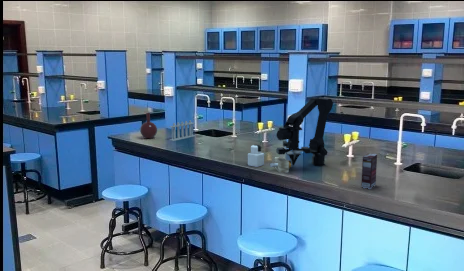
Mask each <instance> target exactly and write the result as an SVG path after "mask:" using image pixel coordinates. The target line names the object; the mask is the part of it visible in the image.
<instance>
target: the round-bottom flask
mask: <svg viewBox="0 0 464 271" xmlns="http://www.w3.org/2000/svg"><path fill="white" fill-rule="evenodd" d="M145 114H146V121H145V122H143V123H142V124H141V126H140V129H139V130H140V135H141V136H142V137H143V138H145V139H152V138H154V137H155V136H156V135H158V134H157V133H158V127H157V125H156V124H155V123H154V122H152V121H151V115H150V114H151V113H150V112H146V113H145Z"/></svg>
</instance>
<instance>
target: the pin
mask: <svg viewBox="0 0 464 271" xmlns="http://www.w3.org/2000/svg"><path fill="white" fill-rule="evenodd" d="M287 161H288V162H289V169H292V163H291V160H287ZM269 167H270V168H275V167H278V163H273V162H270V163H269Z"/></svg>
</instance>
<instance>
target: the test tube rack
mask: <svg viewBox="0 0 464 271" xmlns="http://www.w3.org/2000/svg"><path fill="white" fill-rule="evenodd" d="M194 124H195V122H192V120H188V121H187V120H185V122H184V121H181V123H180V122H176V123H175V122H173V123H172V125H169V126H168V128H171V138H170V139H168V141H171V142H175V141H181V140H183V139H184V140H185V139H189V138H194V137H196V135H195V134H193V132H194V131H193V130H194V127H193V125H194ZM184 126H185V127H184ZM176 128H177V133H176ZM180 128H181V129H180ZM184 129H185V130H184ZM188 130H189V131H188ZM180 131H181V132H180ZM180 133H181V136H180ZM176 134H177V137H176Z"/></svg>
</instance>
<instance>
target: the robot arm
mask: <svg viewBox="0 0 464 271" xmlns="http://www.w3.org/2000/svg"><path fill="white" fill-rule="evenodd" d="M333 106H334V102H333V100H332V99H331V98H325V97H320V98H319V97H311V98H310V100H309V101H307V103H306V104H305V105H303V106H302V108H300V109H299V110H298V111H297V112H295V113H292V114H290V115H289V116H288V117H287V119H286V122H285V124H284V125H283V127H279V128H278V130H277V131H276V138H277V140H279V141H282V147H277V148H276V150H275V152H276V154H278V155H285V154H286V155H287V156H288V157H289V160H290V161H291V166H295V164H296V163H297V160H298V158H299V157H300V156H302V154H301V153H302V152H303V153H305V154H312V156H311V164H312V165H313V166H316V167H317V166H319V167H320V166H326V163H325V162H326V161H325V158H326V156H327V155H328V150H327V149H326V148H325V141H324V134H325V131H326V130H325V129H326V124H327V120H328V116H329V113H331V111H332V109H333ZM316 107H317V110H318V117H317V118H318V119H317V123H316V127H315V132H314V136H313V137H312V138H310V140H309V143H308V146H301V147H300V146H299V145H300V131H303V128H302V127H301V125H302V124H303V122H304V119H305V117H307V116H308V115H309V113H311V112H312V111H314V109H315V108H316ZM284 147H285V148H284Z"/></svg>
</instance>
